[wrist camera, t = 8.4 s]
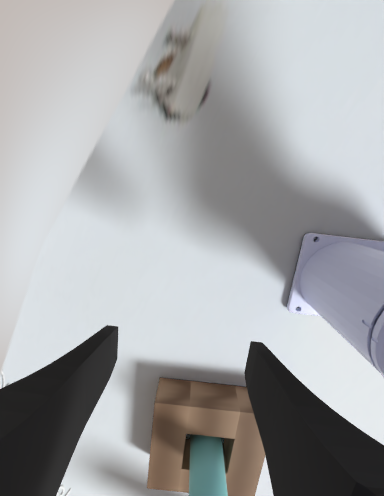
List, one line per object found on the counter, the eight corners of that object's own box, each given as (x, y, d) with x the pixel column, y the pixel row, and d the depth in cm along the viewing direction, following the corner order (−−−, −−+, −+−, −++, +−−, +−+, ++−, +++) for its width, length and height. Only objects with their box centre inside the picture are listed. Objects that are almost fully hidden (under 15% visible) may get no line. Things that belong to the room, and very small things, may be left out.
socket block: (265, 389, 24) (275, 415, 21) (247, 466, 27) (253, 499, 24) (159, 377, 24) (154, 402, 21) (152, 456, 27) (146, 488, 24)
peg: (213, 408, 25) (221, 505, 17) (224, 430, 25) (237, 532, 18) (185, 417, 25) (181, 516, 17) (197, 438, 26) (198, 542, 18)
